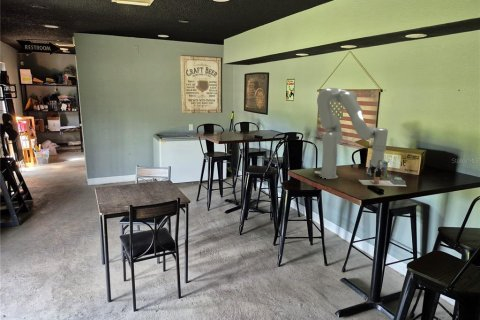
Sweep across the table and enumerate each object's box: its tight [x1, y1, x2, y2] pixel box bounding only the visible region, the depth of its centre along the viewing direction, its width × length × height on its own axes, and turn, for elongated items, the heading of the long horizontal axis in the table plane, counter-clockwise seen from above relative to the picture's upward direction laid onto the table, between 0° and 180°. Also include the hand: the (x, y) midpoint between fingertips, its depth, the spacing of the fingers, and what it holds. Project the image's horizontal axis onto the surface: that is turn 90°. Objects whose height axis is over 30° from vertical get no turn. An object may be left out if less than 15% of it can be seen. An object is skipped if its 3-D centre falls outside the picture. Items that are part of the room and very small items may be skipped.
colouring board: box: [358, 178, 407, 187], centre depth 207 cm, size 26×12×3 cm, turn 84°
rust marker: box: [373, 169, 381, 184], centre depth 205 cm, size 3×3×9 cm
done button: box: [393, 176, 403, 182], centre depth 206 cm, size 4×4×2 cm
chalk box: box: [368, 159, 389, 179], centre depth 224 cm, size 9×9×15 cm
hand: (375, 175), depth 205 cm, fingers open, 9 cm apart
